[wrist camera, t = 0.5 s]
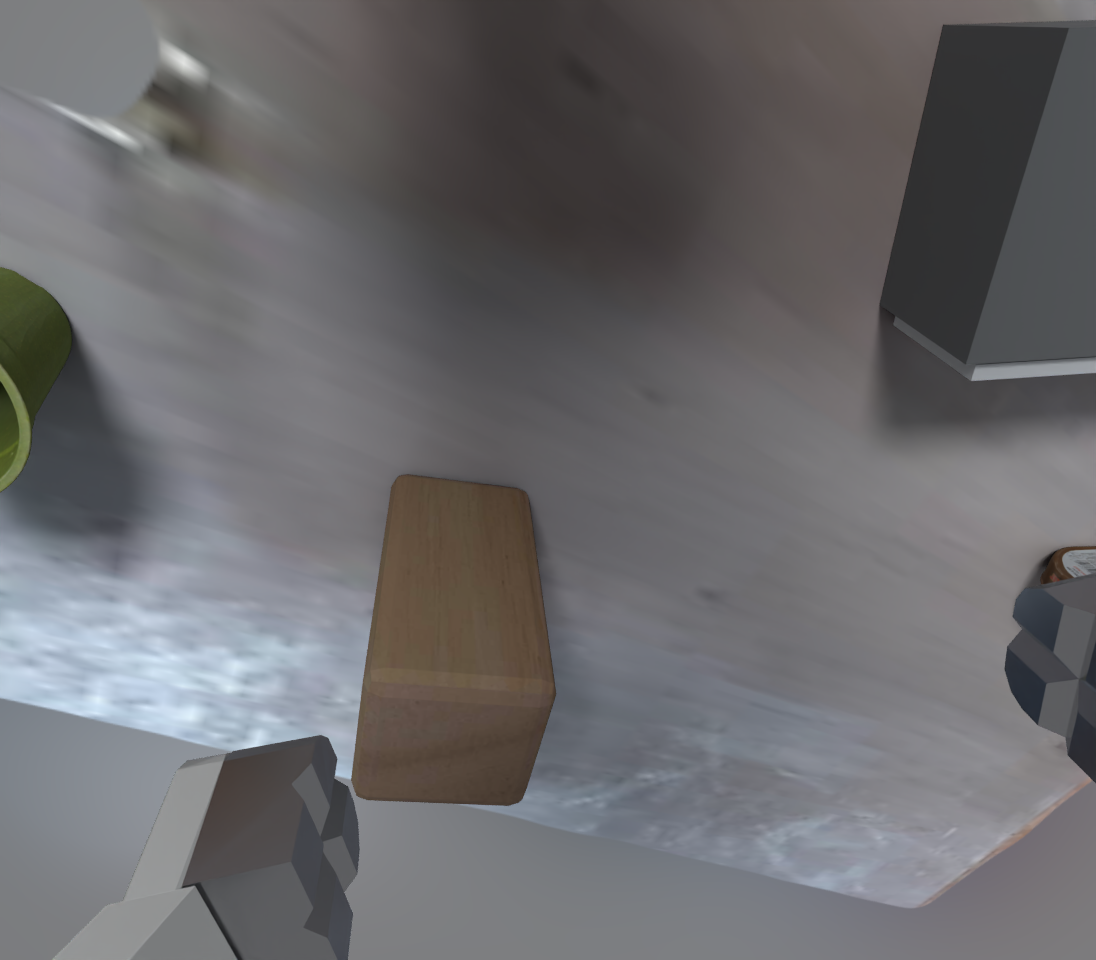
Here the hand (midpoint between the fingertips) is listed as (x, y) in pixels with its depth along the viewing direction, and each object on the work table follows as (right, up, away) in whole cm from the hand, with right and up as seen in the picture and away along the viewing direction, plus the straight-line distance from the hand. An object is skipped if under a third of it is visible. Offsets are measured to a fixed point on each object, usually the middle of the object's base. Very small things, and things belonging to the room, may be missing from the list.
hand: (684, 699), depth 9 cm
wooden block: (-9, -1, +47) cm, 48 cm away
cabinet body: (+29, +22, +37) cm, 51 cm away
